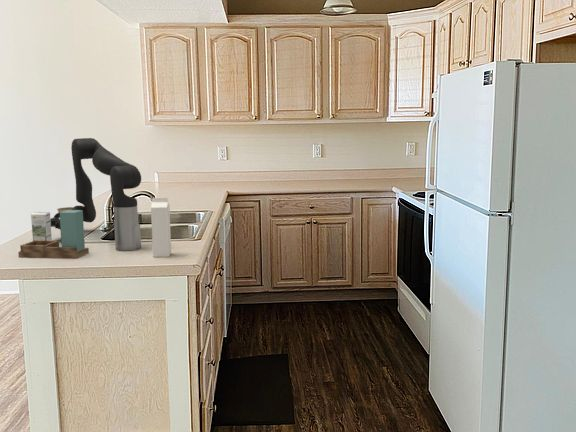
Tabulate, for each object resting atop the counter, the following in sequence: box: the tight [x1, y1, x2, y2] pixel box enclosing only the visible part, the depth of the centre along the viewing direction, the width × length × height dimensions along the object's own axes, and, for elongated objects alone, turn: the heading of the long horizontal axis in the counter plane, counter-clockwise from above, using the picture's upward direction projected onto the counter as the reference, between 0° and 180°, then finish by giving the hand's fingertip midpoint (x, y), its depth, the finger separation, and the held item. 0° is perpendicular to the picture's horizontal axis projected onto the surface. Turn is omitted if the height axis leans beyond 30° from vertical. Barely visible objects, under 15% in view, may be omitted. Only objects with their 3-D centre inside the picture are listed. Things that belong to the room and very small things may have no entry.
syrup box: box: [30, 211, 53, 241], centre depth 233 cm, size 6×6×14 cm
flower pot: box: [56, 206, 75, 213], centre depth 285 cm, size 9×9×9 cm
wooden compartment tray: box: [18, 240, 90, 260], centre depth 220 cm, size 23×10×4 cm, turn 83°
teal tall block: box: [59, 210, 86, 252], centre depth 218 cm, size 7×6×15 cm
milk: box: [150, 197, 172, 258], centre depth 218 cm, size 6×6×22 cm
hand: (46, 225), depth 236 cm, fingers open, 8 cm apart
